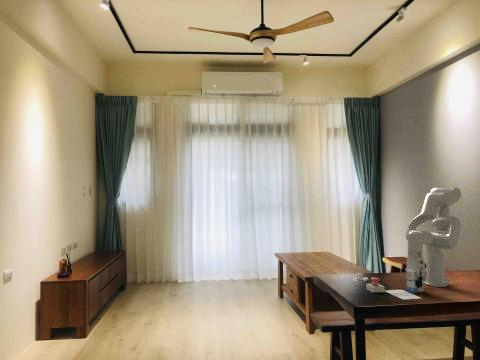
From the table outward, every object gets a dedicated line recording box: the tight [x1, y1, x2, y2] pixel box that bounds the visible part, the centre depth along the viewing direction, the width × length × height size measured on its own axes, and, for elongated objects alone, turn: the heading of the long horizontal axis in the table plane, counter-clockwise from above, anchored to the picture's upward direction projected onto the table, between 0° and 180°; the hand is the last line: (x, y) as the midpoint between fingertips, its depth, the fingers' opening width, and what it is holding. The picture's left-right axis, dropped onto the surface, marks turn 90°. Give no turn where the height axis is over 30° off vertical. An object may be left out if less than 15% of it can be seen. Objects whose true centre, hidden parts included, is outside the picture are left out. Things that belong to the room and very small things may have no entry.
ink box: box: [406, 270, 425, 294], centre depth 200 cm, size 8×5×12 cm, turn 117°
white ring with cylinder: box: [352, 273, 369, 283], centre depth 223 cm, size 9×8×4 cm
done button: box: [370, 276, 380, 286], centre depth 200 cm, size 4×4×5 cm
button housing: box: [365, 283, 385, 293], centre depth 200 cm, size 7×7×3 cm
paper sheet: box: [384, 289, 423, 301], centre depth 192 cm, size 11×16×1 cm
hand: (415, 285), depth 200 cm, fingers closed on ink box, 5 cm apart
